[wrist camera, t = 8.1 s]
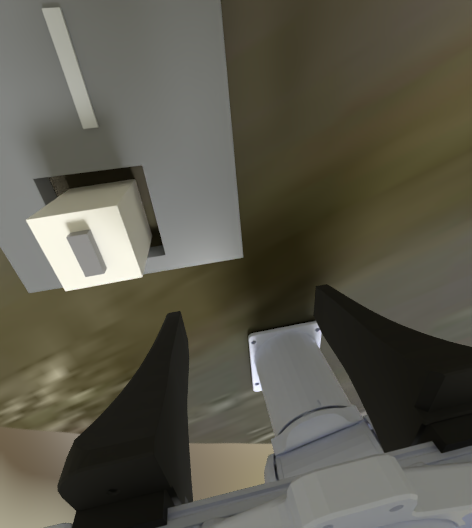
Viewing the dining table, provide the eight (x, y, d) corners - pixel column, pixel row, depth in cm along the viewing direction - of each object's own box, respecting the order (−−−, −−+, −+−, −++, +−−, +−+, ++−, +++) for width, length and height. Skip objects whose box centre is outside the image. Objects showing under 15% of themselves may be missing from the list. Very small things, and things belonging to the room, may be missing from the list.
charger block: (152, 235, 21) (141, 282, 15) (94, 245, 20) (61, 297, 15) (135, 178, 19) (114, 209, 13) (69, 188, 18) (19, 224, 13)
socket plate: (239, 247, 23) (243, 258, 21) (40, 279, 21) (27, 294, 19) (214, -16, 14) (218, -33, 13) (-117, 4, 13) (-163, -12, 11)
